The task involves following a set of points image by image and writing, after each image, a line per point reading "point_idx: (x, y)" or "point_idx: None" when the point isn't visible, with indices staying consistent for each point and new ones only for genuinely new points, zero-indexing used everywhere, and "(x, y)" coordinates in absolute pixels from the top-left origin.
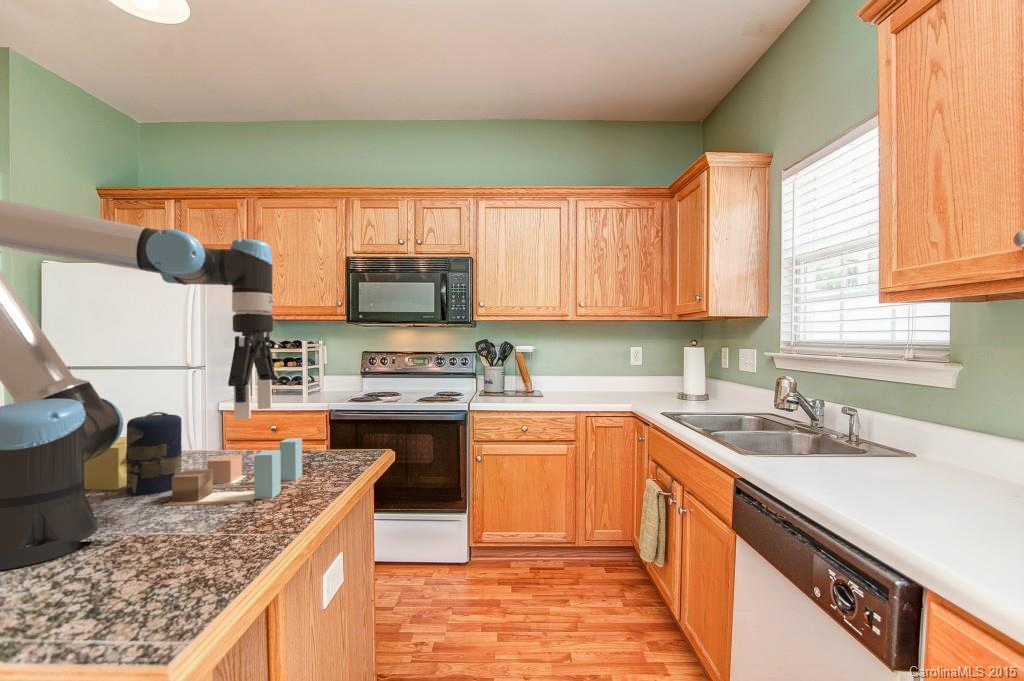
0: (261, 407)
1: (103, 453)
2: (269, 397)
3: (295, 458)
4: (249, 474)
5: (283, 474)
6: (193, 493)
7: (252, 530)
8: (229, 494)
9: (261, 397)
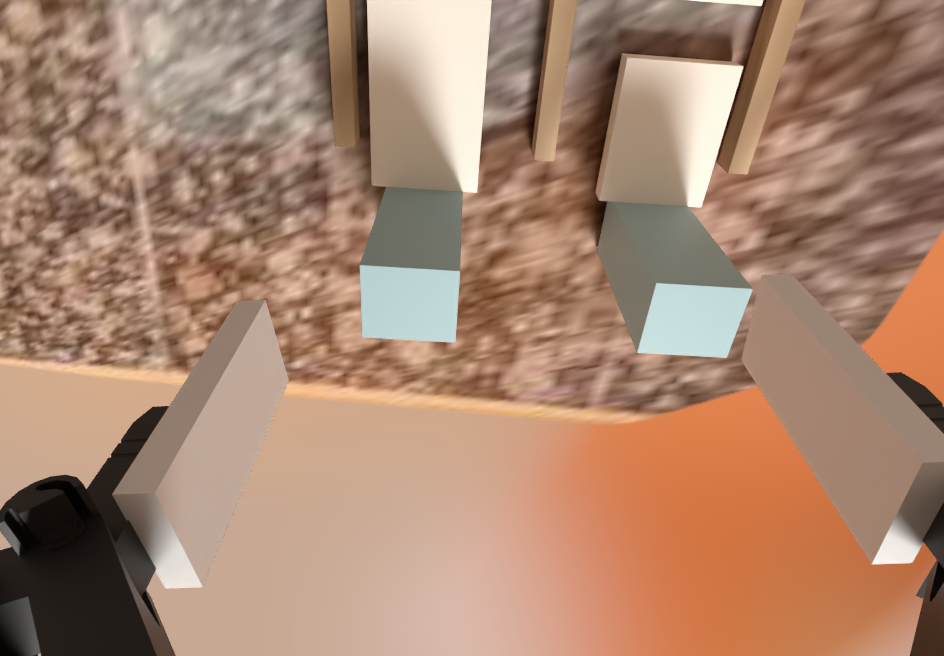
0: (759, 307)
1: None
2: (780, 414)
3: (619, 307)
4: (776, 13)
5: (615, 226)
6: None
7: (176, 253)
8: (454, 56)
9: (800, 360)
